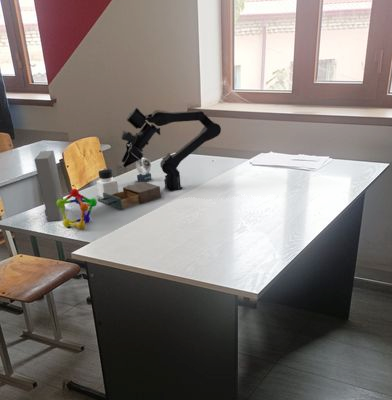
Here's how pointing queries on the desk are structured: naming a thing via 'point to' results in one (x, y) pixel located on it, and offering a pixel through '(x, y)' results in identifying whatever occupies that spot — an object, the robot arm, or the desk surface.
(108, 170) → the medicine bottle
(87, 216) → the educational toy
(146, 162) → the snow globe
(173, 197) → the desk surface
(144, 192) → the cabinet
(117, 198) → the drawer
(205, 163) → the desk surface
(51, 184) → the tall grey pillar
